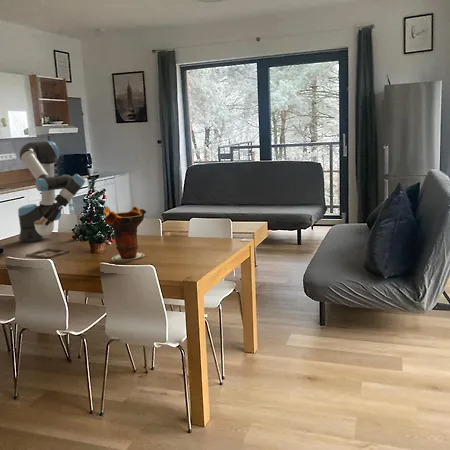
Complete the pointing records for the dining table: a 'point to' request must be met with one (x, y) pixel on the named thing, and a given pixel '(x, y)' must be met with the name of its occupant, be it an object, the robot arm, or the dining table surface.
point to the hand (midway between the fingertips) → (39, 228)
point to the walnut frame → (47, 253)
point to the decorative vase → (125, 232)
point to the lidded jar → (47, 230)
